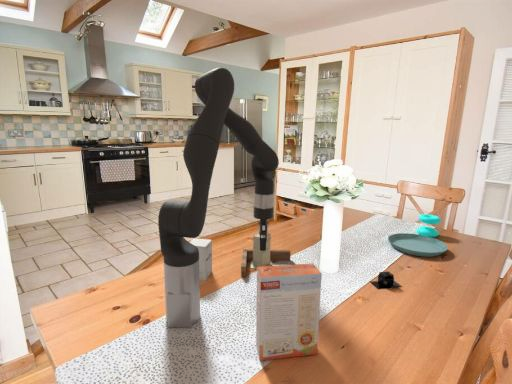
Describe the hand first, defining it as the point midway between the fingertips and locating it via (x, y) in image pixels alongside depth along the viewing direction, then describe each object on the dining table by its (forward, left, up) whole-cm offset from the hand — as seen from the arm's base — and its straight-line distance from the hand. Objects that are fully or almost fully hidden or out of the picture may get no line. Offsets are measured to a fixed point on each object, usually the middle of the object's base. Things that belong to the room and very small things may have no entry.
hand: (262, 246), depth 116 cm
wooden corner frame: (-2, -2, -8) cm, 8 cm away
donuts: (+40, -87, -8) cm, 96 cm away
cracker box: (-46, -5, -8) cm, 47 cm away
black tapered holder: (-13, -43, -9) cm, 45 cm away
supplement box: (-9, +23, -8) cm, 26 cm away
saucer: (+21, -71, -9) cm, 75 cm away
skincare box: (+1, 0, -8) cm, 8 cm away
